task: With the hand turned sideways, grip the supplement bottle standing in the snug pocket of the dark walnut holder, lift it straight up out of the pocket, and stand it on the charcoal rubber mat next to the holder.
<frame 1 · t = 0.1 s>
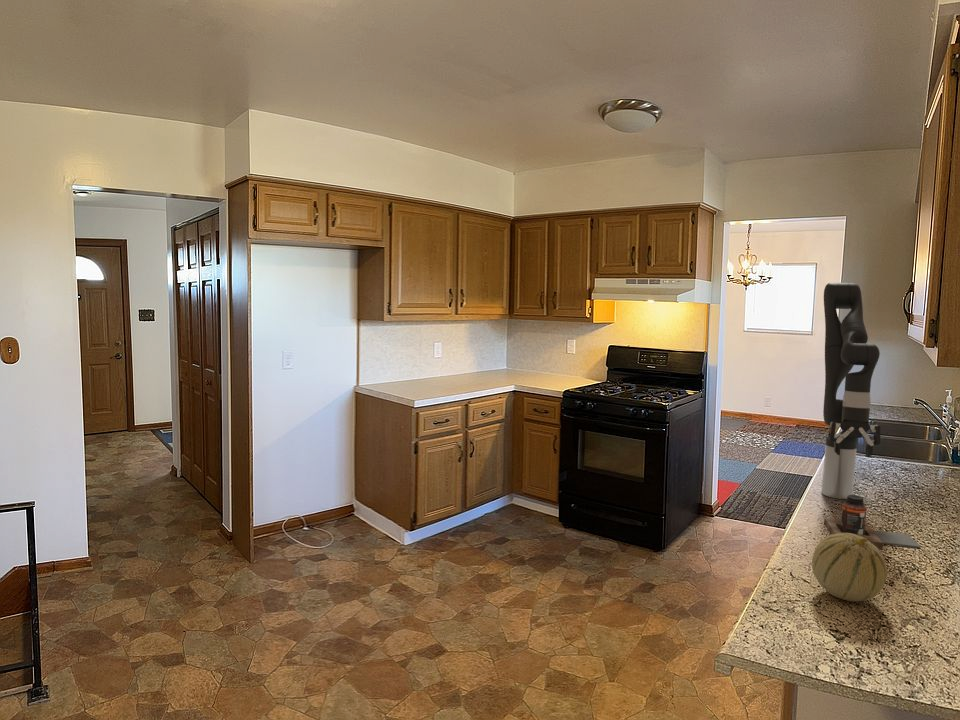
hand: (852, 455, 201), 17 cm above the countertop, tool pointing down, fingers open, 8 cm apart
cantaloupe: (845, 598, 143), on the countertop
supplement bottle: (851, 535, 180), resting in walnut holder
walnut holder: (851, 534, 180), on the countertop
rubber mat: (895, 539, 177), on the countertop
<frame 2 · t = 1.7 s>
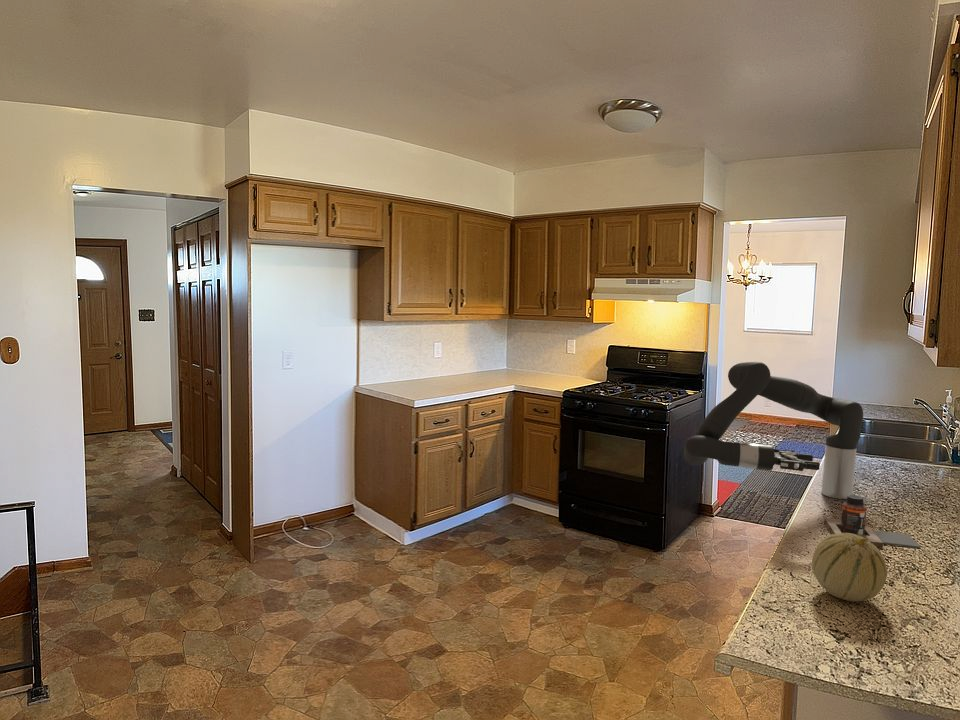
hand: (815, 462, 181), 20 cm above the countertop, tool horizontal, fingers open, 8 cm apart
nothing on the countertop moved.
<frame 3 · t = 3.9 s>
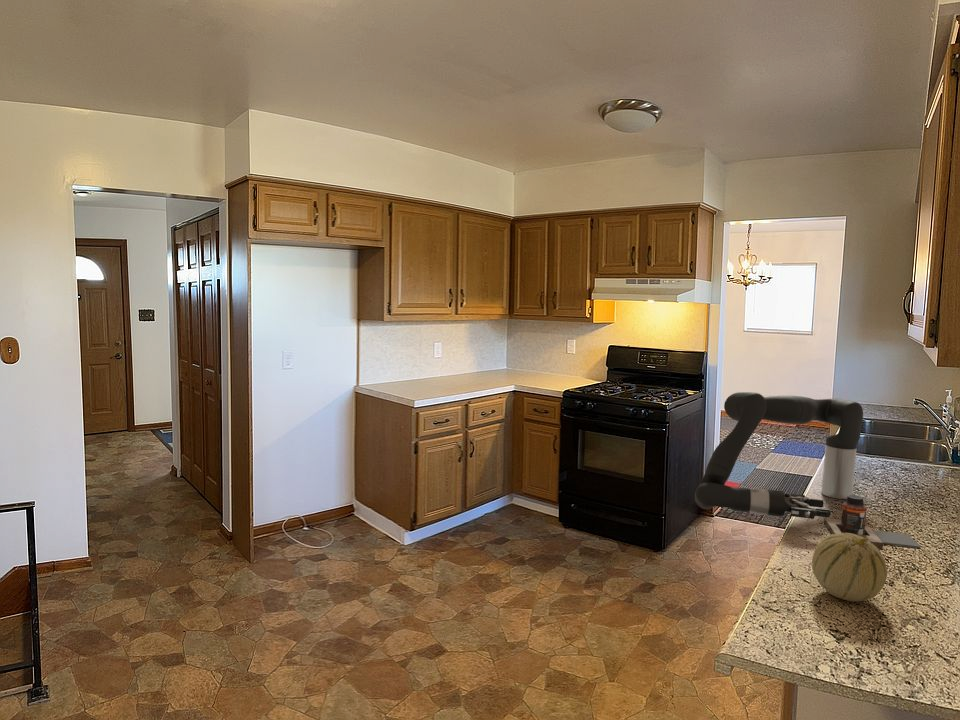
hand: (826, 508, 182), 7 cm above the countertop, tool horizontal, fingers open, 8 cm apart
nothing on the countertop moved.
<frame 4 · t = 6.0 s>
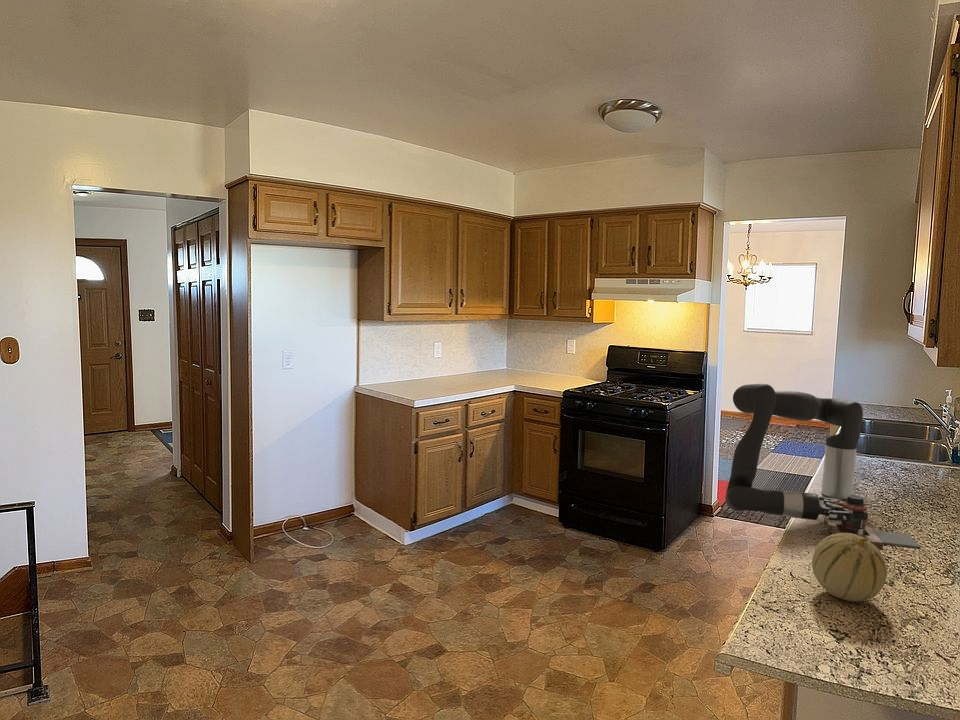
hand: (863, 512, 179), 7 cm above the countertop, tool horizontal, fingers closed on supplement bottle, 6 cm apart
supplement bottle: (851, 535, 180), resting in walnut holder, touching gripper
everything else where it was.
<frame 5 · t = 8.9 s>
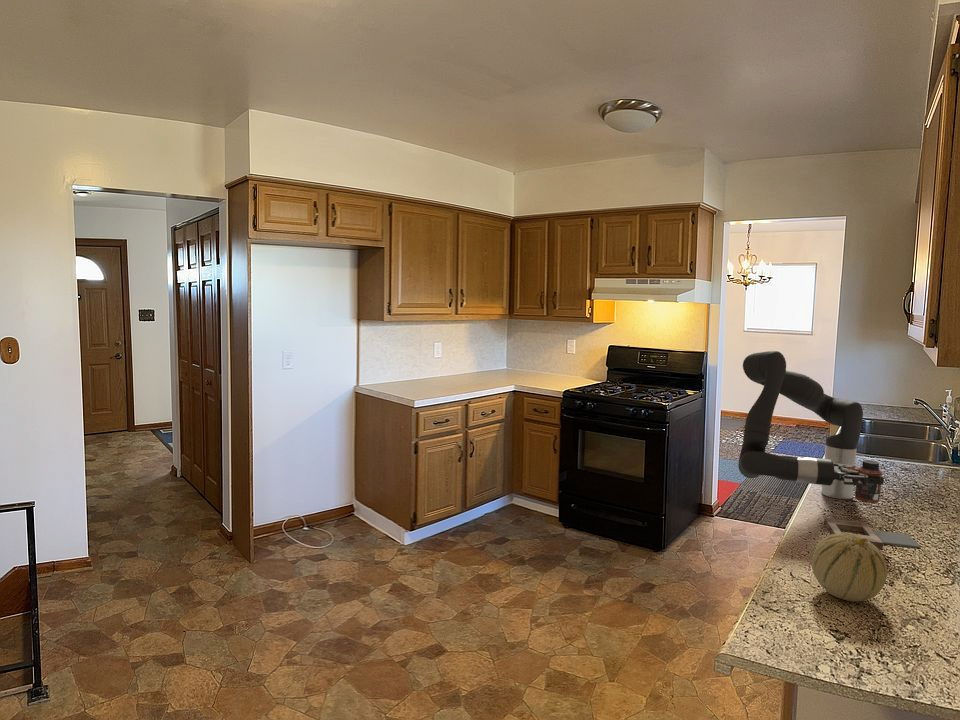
hand: (879, 477, 177), 18 cm above the countertop, tool horizontal, fingers closed on supplement bottle, 6 cm apart
supplement bottle: (866, 501, 179), point 10 cm above the countertop, touching gripper
everything else where it was.
when the fingers open (9 cm above the countertop, at t = 12.1 s): supplement bottle drops 1 cm, resting on rubber mat.
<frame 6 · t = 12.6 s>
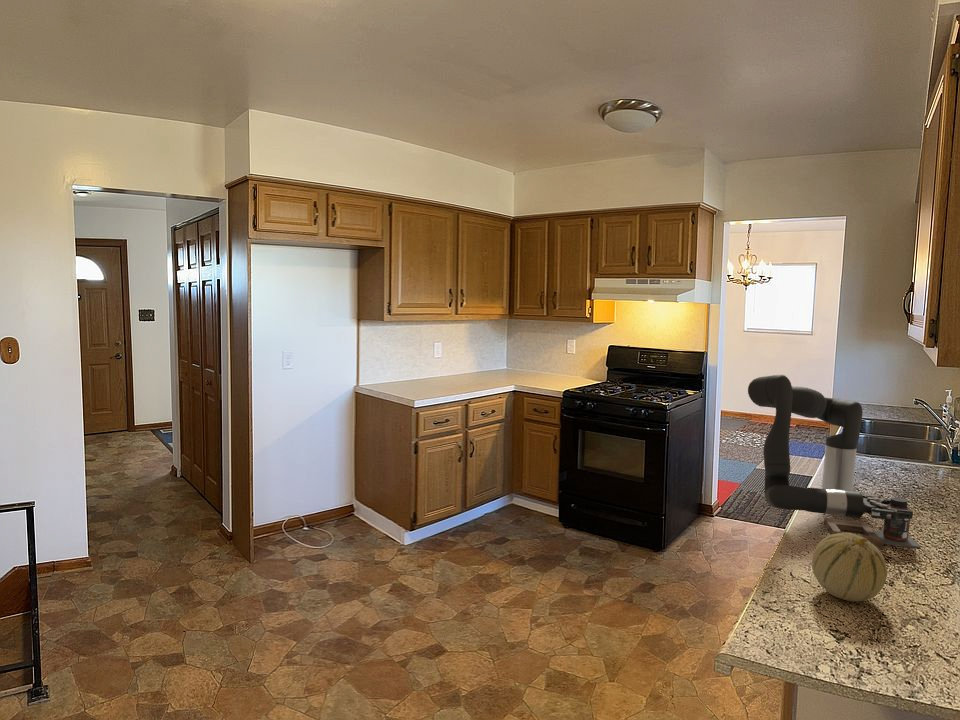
hand: (906, 509, 176), 9 cm above the countertop, tool horizontal, fingers open, 8 cm apart
supplement bottle: (895, 538, 177), resting on rubber mat
everything else where it was.
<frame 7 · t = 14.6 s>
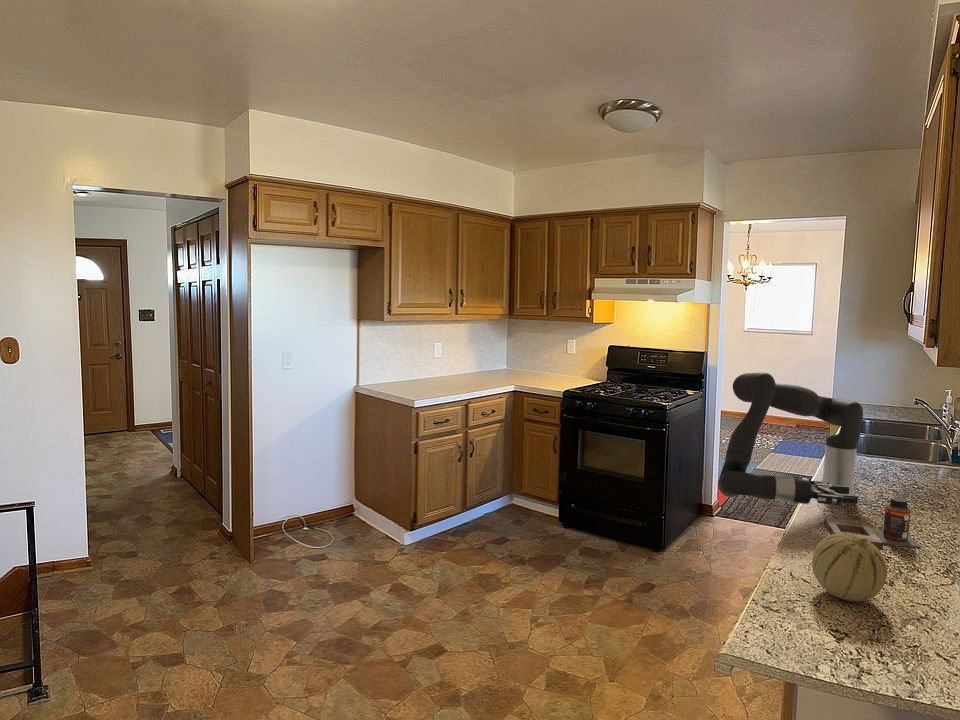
hand: (853, 495, 180), 12 cm above the countertop, tool horizontal, fingers open, 8 cm apart
nothing on the countertop moved.
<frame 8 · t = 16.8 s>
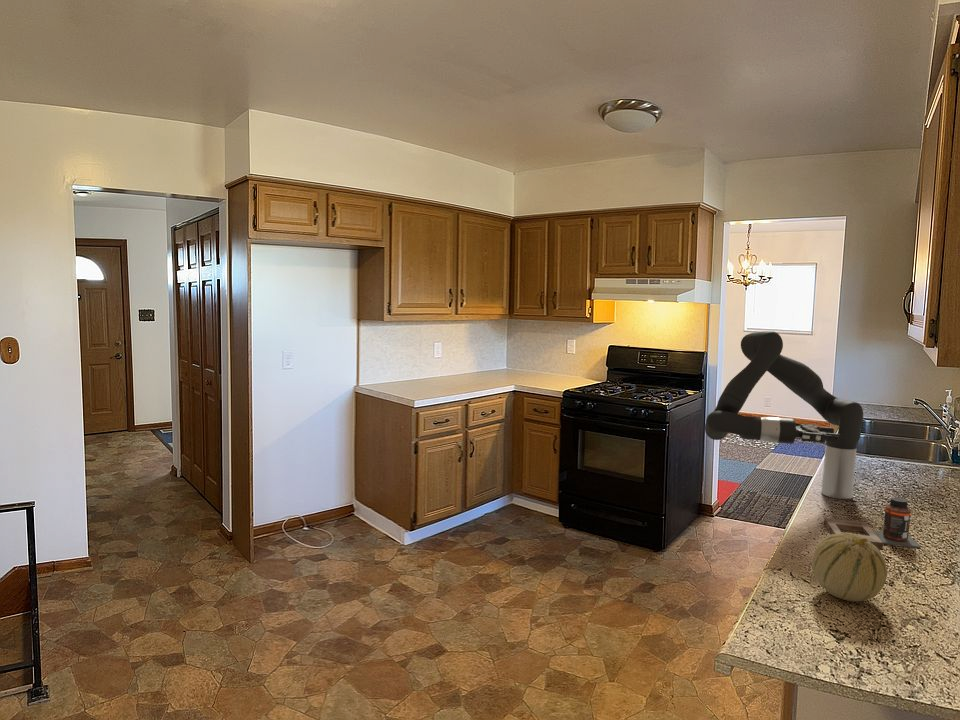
hand: (837, 434, 183), 28 cm above the countertop, tool horizontal, fingers open, 8 cm apart
nothing on the countertop moved.
at the end: supplement bottle 0.1 cm off-centre on the rubber mat, point 0.3 cm above the rubber mat's base; supplement bottle tilted 0°; the gripper is holding nothing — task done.
